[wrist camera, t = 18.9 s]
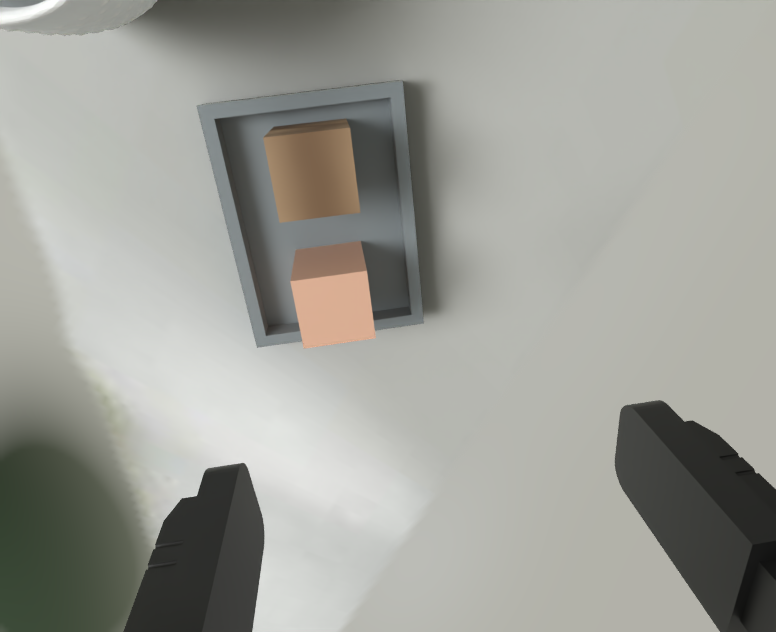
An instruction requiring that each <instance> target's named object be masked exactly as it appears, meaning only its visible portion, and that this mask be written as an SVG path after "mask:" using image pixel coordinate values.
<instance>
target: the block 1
mask: <svg viewBox="0 0 776 632" xmlns="http://www.w3.org/2000/svg"><path fill="white" fill-rule="evenodd" d="M263 140H264V145H265V150H266V155H267V160H268V165H269V171H270V176H271V181H272V186H273V191H274V196H275V201H276V207H277V212H278V217H279V222H280V223H282V222H290V221H298V220H306V219H314V218H322V217H330V216H338V215H346V214H354V213H360V205H359V197H358V189H357V181H356V172H355V164H354V156H353V148H352V140H351V132H350V127H349V124H348V122H347V120H346V118H345V119H336V120H327V121H319V122H310V123H301V124H293V125H284V126H275V127H273V128H272V129H271V130H270V131H269V132H268V133H267V134H266V135H265V136H264V137H263Z"/></svg>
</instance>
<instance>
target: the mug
mask: <svg viewBox="0 0 776 632" xmlns="http://www.w3.org/2000/svg"><path fill="white" fill-rule="evenodd" d="M155 2H157V0H0V29H3V30H6V31H21V32H25V33H39V34H43V35H55V34H58V35H63V36H66V35H72V34H75V35H84V34H88V33H99V32H102V31H104V30H113V29H115V28H119V27H120V26H122V25H126V24H128V23H129V22H131V21H132V20H133V19H137V18H138V17H139V16H141V15H143V14H144V13H145V12H146V11H147V10H148V9H150V8H152V7H153V5H154V4H155Z"/></svg>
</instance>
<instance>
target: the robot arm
mask: <svg viewBox="0 0 776 632" xmlns="http://www.w3.org/2000/svg"><path fill="white" fill-rule="evenodd" d="M615 469H616V474H617V477H618V480H619V483H620V485H621V487H622V489H623V491H624V492H625V494H626V495H627V496H628V498H629V499H630V501H631V502H632V504H633V505H634V507H635V508H636V510H637V511H638V512H639V514H640V515H641V517H642V518H643V520H644V521H645V523H646V524H647V526H648V527H649V528H650V530H651V531H652V533H653V534H654V536H655V537H656V539H657V540H658V542H659V543H660V545H661V546H662V548H663V549H664V550H665V552H666V553H667V555H668V556H669V558H670V559H671V561H672V562H673V564H674V565H675V566H676V568H677V569H678V571H679V572H680V574H681V575H682V577H683V578H684V580H685V581H686V583H687V584H688V585H689V587H690V588H691V590H692V591H693V593H694V594H695V596H696V597H697V599H698V600H699V601H700V603H701V604H702V606H703V607H704V609H705V610H706V612H707V613H708V615H709V616H710V618H711V619H712V620H713V622H714V623H715V625H716V626H717V628H718V629H719V631H720V632H776V489H775V488H774V487H772V486H771V485H770V484H769V483H768V482H767V481H766V480H765V479H764V478H763V477H762V476H761V475H760V474H759V473H758V474H756V473H755V471H754V468H753V467H752V466H750V464H748V463H747V462H746V461H745V460H744V459H743V458H742V457H741V458H740V457H739V456H738V453H737V452H736V451H735V450H734V449H733V448H732V447H731V446H730V445H729V444H728V443H727V442H726V441H724V440H723V439H722V438H721V437H720V436H719V435H718V434H716V433H714V432H712V431H711V430H709V429H707V428H705V427H703V426H701V425H700V424H698V423H696V422H694V421H686V422H684V421H683V420H682V419H681V418H680V417H679V416H678V415H677V414H676V413H675V412H674V411H673V410H672V409H671V408H670V407H669V406H668V405H667V404H666V403H665V402H663V401H660V400H659V401H651V402H645V403H638V404H632V405H626V406H624V407H623V408H622V409H621V412H620V420H619V429H618V437H617V446H616V455H615ZM155 545H156V548H155V549H154V550H153V552H152V555H151V558H150V561H149V563H148V570H146V571H145V574H144V577H143V580H142V582H141V586H140V588H139V591H138V593H137V596H136V599H135V602H134V605H133V607H132V610H131V613H130V615H129V618H128V621H127V624H126V626H125V629H124V632H252V628H253V621H254V614H255V607H256V600H257V592H258V585H259V578H260V571H261V564H262V556H263V549H264V524H263V518H262V514H261V511H260V507H259V504H258V501H257V497H256V494H255V491H254V488H253V484H252V481H251V478H250V474H249V471H248V468H247V466H246V465H245V464H244V463H240V464H233V465H227V466H220V467H214V468H208V469H207V470H206V471H205V473H204V475H203V478H202V482H201V485H200V488H199V491H198V495H197V496H195V497H189V498H182V499H181V500H180V502H179V503H178V504H177V505H176V507H175V508H174V509H173V510H172V511H171V513H170V514H169V515H168V516H167V518H166V519H165V520H164V522H163V525H162V528H161V530H160V533H159V536H158V539H157V541H156V544H155Z"/></svg>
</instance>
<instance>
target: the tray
mask: <svg viewBox="0 0 776 632" xmlns="http://www.w3.org/2000/svg"><path fill="white" fill-rule="evenodd" d="M197 109H198V113H199V117H200V121H201V125H202V129H203V133H204V137H205V141H206V145H207V149H208V153H209V157H210V161H211V165H212V169H213V173H214V177H215V181H216V185H217V189H218V193H219V197H220V201H221V205H222V209H223V213H224V217H225V221H226V225H227V229H228V233H229V237H230V241H231V245H232V249H233V253H234V257H235V261H236V265H237V269H238V273H239V277H240V281H241V285H242V289H243V293H244V297H245V301H246V305H247V309H248V313H249V317H250V321H251V325H252V329H253V333H254V337H255V341H256V345H257V348H258V347H265V346H271V345H278V344H285V343H292V342H299V341H302V337H301V332H300V327H299V322H298V317H297V312H296V307H295V302H294V297H293V292H292V287H291V283H290V280H291V274H292V268H293V263H294V257H295V251H296V250H297V249H304V248H312V247H319V246H326V245H334V244H341V243H349V242H356V241H361V245H362V250H363V254H364V259H365V264H366V269H367V275H368V283H369V291H370V298H371V306H372V313H373V321H374V328H375V330H381V329H388V328H395V327H402V326H408V325H415V324H422V323H424V321H423V309H422V298H421V286H420V274H419V263H418V251H417V240H416V228H415V217H414V205H413V193H412V182H411V170H410V159H409V147H408V136H407V124H406V113H405V101H404V89H403V81H399V80H398V81H390V82H381V83H373V84H365V85H357V86H348V87H340V88H332V89H324V90H315V91H307V92H299V93H291V94H282V95H274V96H266V97H258V98H249V99H241V100H233V101H225V102H216V103H208V104H202V105H198V106H197ZM345 118H346V120H347V122H348V124H349V127H350V132H351V140H352V148H353V156H354V164H355V172H356V181H357V189H358V197H359V205H360V213H354V214H346V215H338V216H330V217H322V218H314V219H306V220H298V221H290V222H282V223H280V222H279V217H278V212H277V207H276V201H275V196H274V191H273V186H272V181H271V176H270V171H269V165H268V160H267V155H266V150H265V145H264V140H263V137H264V136H265V135H266V134H267V133H268V132H269V131H270V130H271V129H272V128H273V127H275V126H284V125H293V124H301V123H310V122H319V121H327V120H336V119H345Z"/></svg>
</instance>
